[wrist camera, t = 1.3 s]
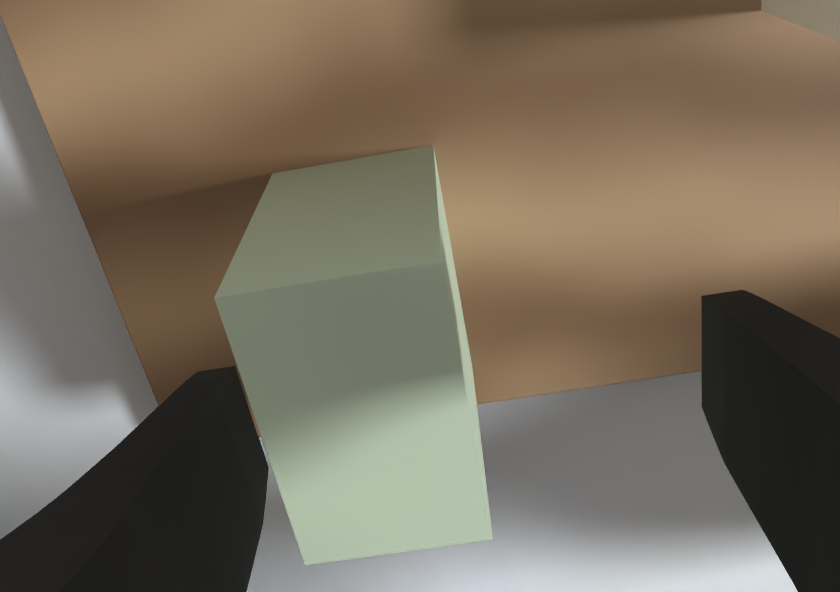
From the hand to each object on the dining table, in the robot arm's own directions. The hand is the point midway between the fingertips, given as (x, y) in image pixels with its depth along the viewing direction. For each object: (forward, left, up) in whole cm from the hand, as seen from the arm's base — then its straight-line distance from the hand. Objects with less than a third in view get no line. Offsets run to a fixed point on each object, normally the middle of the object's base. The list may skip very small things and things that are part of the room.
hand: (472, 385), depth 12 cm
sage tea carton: (-2, +2, -8) cm, 9 cm away
